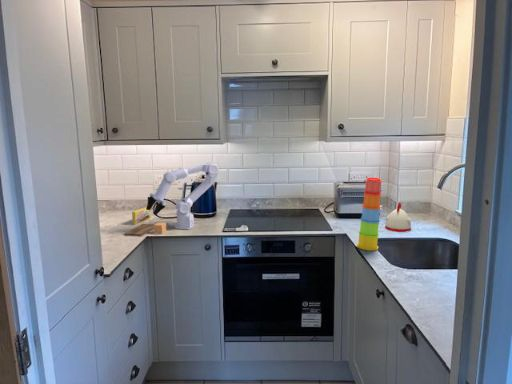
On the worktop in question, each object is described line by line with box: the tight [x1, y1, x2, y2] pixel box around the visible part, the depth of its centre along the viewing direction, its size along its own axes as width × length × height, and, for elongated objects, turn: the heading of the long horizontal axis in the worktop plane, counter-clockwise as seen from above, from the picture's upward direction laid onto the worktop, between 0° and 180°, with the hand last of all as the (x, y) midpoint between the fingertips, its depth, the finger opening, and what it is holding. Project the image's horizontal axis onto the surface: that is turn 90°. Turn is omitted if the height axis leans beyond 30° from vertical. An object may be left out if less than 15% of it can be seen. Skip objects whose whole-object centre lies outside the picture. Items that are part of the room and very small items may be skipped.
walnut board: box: [124, 223, 156, 237], centre depth 218 cm, size 10×20×1 cm, turn 167°
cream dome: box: [384, 202, 412, 233], centre depth 216 cm, size 14×14×15 cm
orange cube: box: [153, 222, 167, 235], centre depth 214 cm, size 5×5×5 cm
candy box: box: [131, 206, 151, 226], centre depth 238 cm, size 16×2×8 cm, turn 161°
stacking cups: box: [356, 177, 382, 252], centre depth 182 cm, size 10×10×35 cm
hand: (151, 212), depth 215 cm, fingers open, 7 cm apart
